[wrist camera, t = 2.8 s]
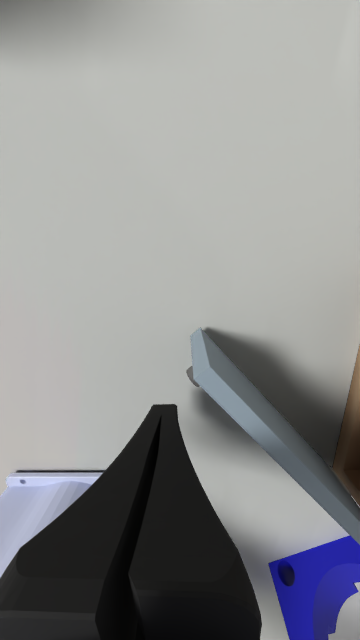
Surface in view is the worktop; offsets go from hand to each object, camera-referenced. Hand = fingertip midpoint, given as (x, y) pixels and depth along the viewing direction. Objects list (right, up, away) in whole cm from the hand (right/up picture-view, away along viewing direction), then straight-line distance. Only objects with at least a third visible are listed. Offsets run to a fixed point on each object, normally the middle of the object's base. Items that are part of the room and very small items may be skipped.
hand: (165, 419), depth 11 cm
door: (+7, -1, +2) cm, 7 cm away
